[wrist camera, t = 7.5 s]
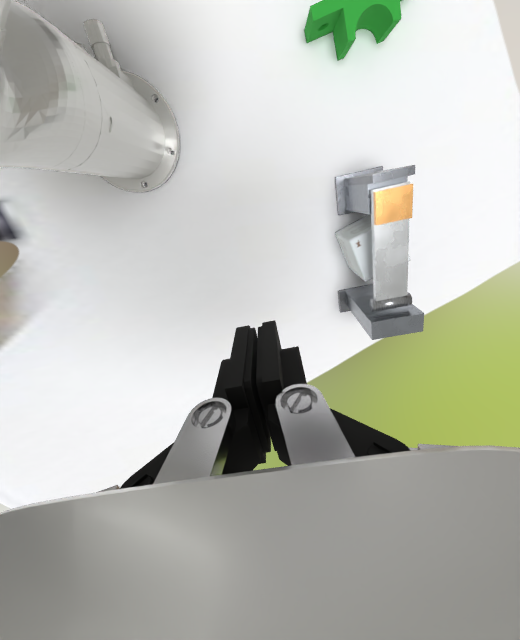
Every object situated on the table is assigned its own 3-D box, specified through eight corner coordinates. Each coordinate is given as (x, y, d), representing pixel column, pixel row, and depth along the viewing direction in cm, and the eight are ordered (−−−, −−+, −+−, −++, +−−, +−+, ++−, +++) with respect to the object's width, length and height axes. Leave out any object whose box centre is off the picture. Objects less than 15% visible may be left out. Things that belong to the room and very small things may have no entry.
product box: (348, 268, 41) (364, 283, 35) (333, 232, 39) (347, 240, 32) (387, 249, 40) (411, 261, 33) (374, 210, 38) (398, 214, 31)
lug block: (334, 177, 36) (361, 171, 26) (380, 166, 35) (426, 156, 25) (337, 214, 38) (364, 222, 28) (381, 205, 37) (423, 210, 27)
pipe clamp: (312, 72, 32) (318, 54, 27) (303, 31, 30) (309, 6, 26) (410, 29, 30) (433, 3, 26) (407, -16, 28) (431, -52, 24)
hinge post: (337, 290, 43) (362, 324, 32) (389, 280, 42) (433, 311, 31) (339, 311, 44) (364, 349, 33) (389, 301, 43) (431, 338, 33)
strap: (365, 190, 28) (371, 190, 27) (408, 181, 28) (417, 180, 26) (369, 308, 34) (374, 314, 32) (405, 302, 34) (412, 308, 32)
